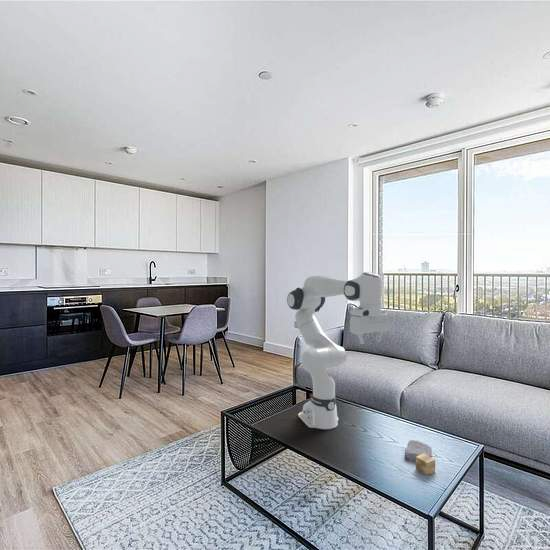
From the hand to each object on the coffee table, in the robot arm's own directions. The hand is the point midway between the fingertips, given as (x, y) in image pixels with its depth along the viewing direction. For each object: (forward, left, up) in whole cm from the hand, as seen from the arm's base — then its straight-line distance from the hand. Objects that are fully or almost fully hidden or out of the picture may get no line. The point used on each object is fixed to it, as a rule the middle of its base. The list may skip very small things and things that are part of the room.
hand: (370, 342), depth 149 cm
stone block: (+13, +17, -48) cm, 52 cm away
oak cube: (+21, +10, -48) cm, 53 cm away
